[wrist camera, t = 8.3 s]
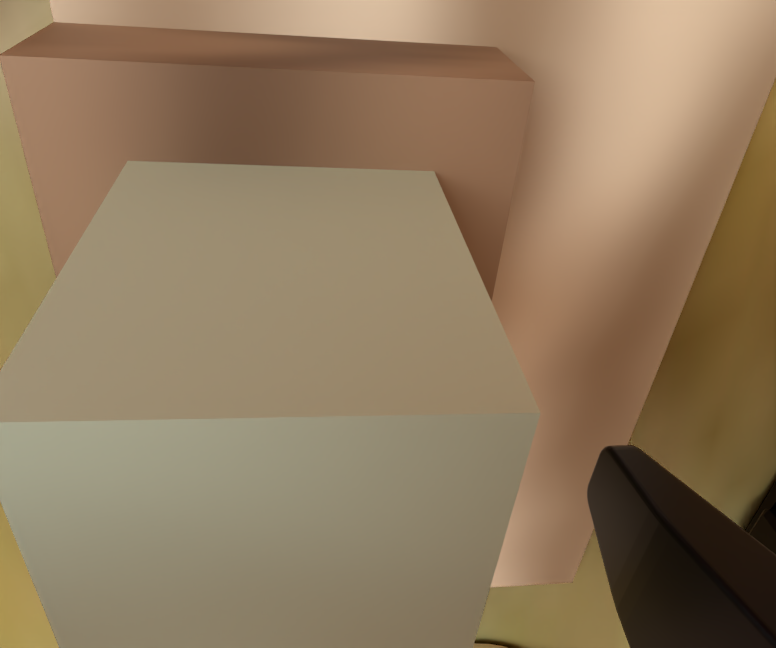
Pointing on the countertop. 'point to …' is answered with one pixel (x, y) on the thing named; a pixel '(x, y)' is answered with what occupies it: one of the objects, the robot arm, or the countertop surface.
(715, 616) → the robot arm
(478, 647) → the milk bottle
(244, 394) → the top block
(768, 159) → the countertop surface
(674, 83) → the board
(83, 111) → the base block
